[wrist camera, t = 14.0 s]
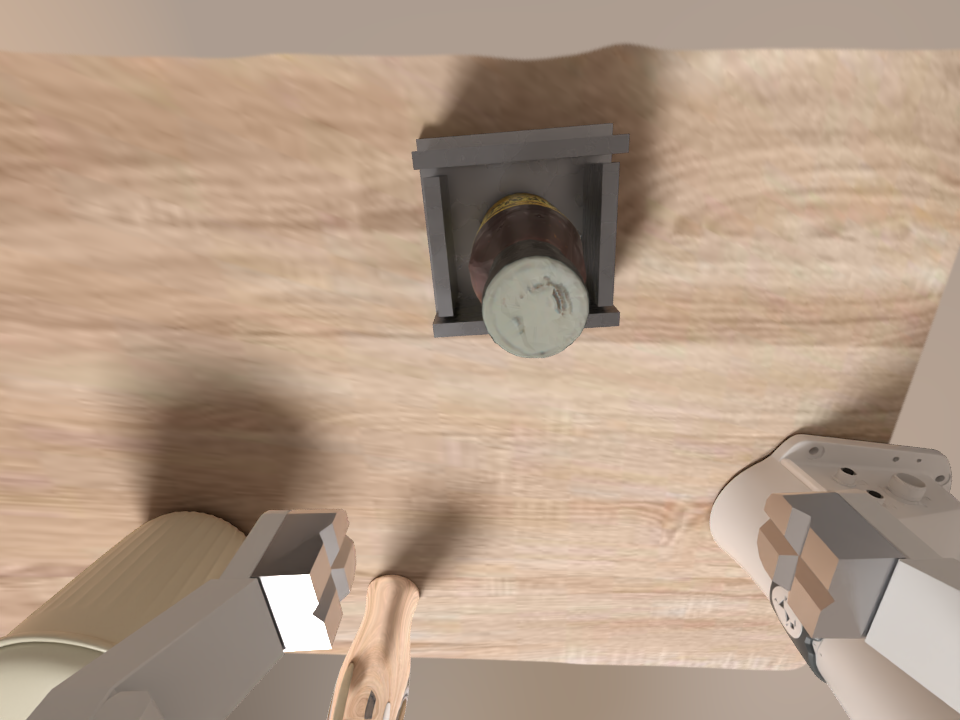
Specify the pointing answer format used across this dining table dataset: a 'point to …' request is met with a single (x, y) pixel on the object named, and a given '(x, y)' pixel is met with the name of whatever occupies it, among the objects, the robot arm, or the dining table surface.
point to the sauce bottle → (529, 276)
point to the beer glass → (378, 655)
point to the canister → (111, 603)
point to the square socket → (509, 170)
